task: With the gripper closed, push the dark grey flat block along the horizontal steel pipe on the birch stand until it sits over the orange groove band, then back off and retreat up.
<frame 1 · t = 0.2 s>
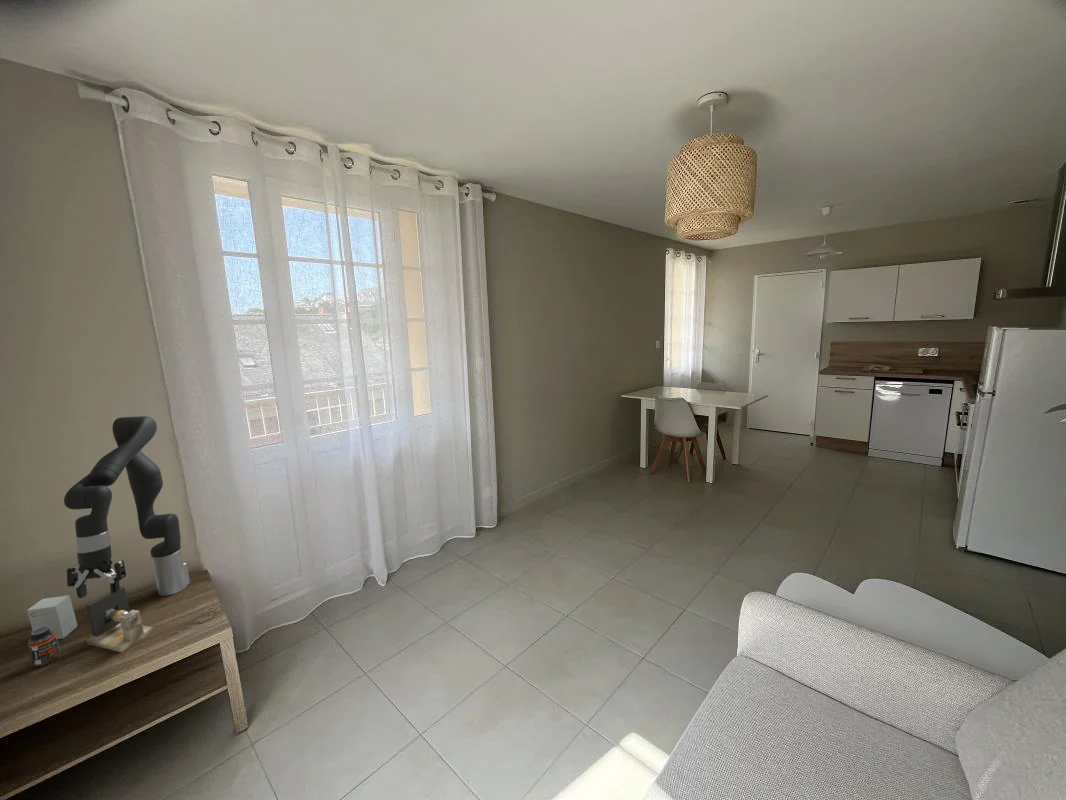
hand: (98, 594, 134), 23 cm above the table, tool pointing down, fingers open, 8 cm apart
small box: (57, 634, 147), on the table
dark grey flat block: (109, 611, 145), point 10 cm above the table, slide at 0.0 cm
pipe stand: (121, 637, 146), on the table
supplement bottle: (47, 660, 136), on the table
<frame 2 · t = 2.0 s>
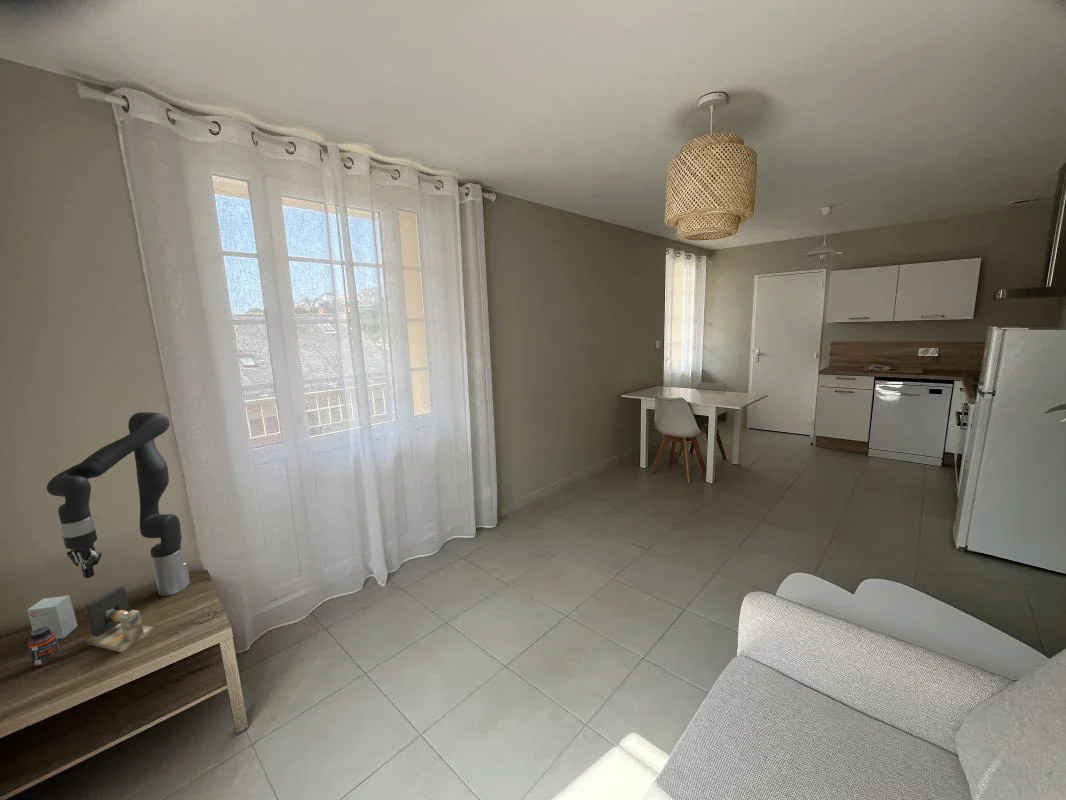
hand: (89, 576, 143), 23 cm above the table, tool pointing down, fingers closed
nothing on the table moved.
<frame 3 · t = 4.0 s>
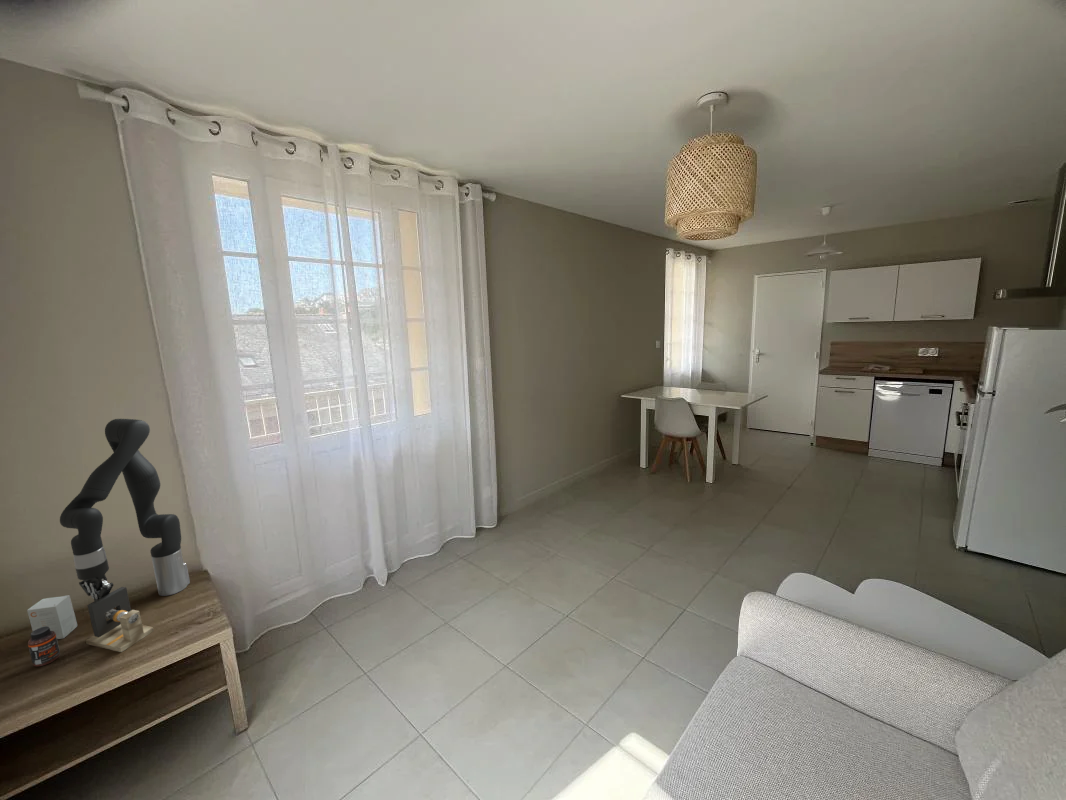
hand: (101, 606, 145), 12 cm above the table, tool pointing down, fingers closed
dark grey flat block: (110, 611, 144), point 10 cm above the table, slide at 0.9 cm, touching gripper, hand
everything else where it was.
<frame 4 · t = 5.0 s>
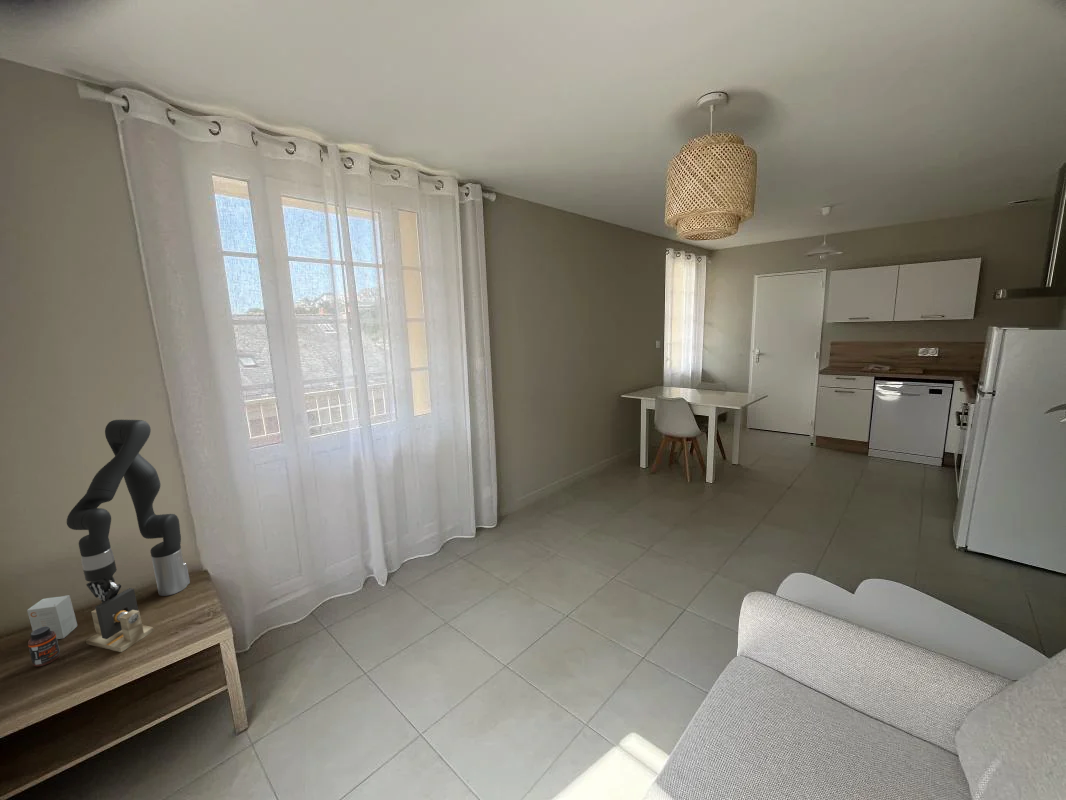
hand: (108, 607, 144), 12 cm above the table, tool pointing down, fingers closed
dark grey flat block: (118, 612, 144), point 10 cm above the table, slide at 4.4 cm, touching gripper
everything else where it was.
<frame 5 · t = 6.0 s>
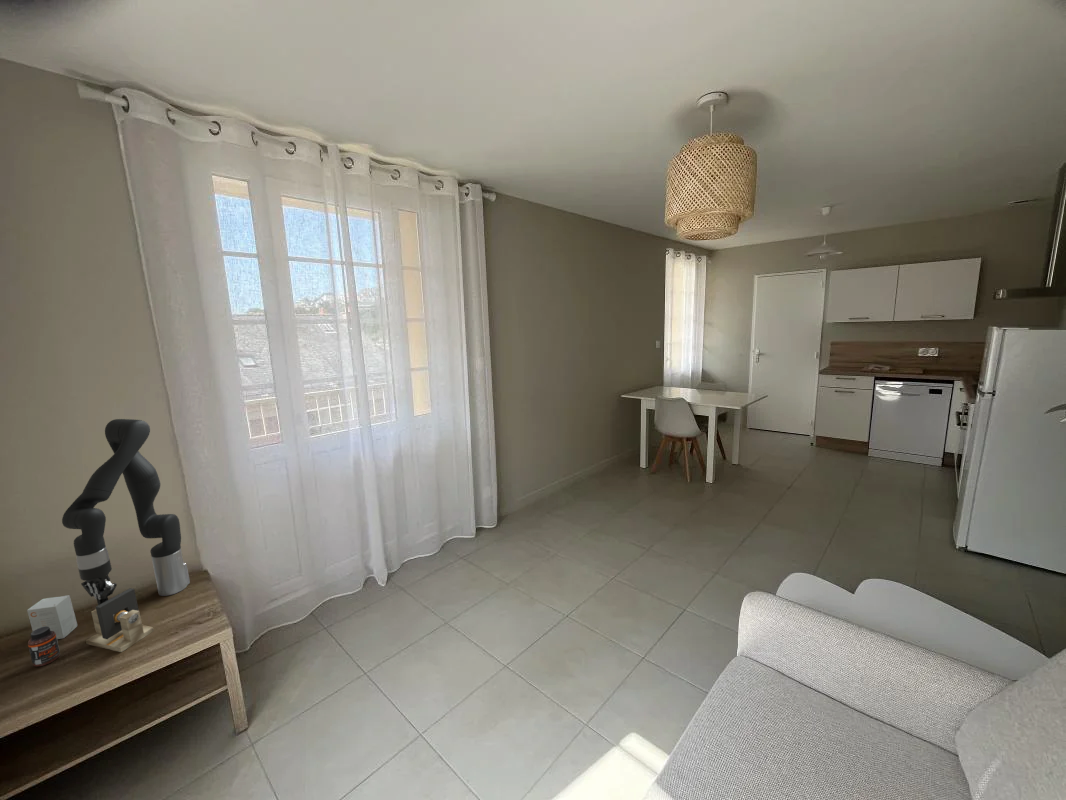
hand: (104, 606, 145), 11 cm above the table, tool pointing down, fingers closed
dark grey flat block: (118, 613, 144), point 10 cm above the table, slide at 4.6 cm
everything else where it was.
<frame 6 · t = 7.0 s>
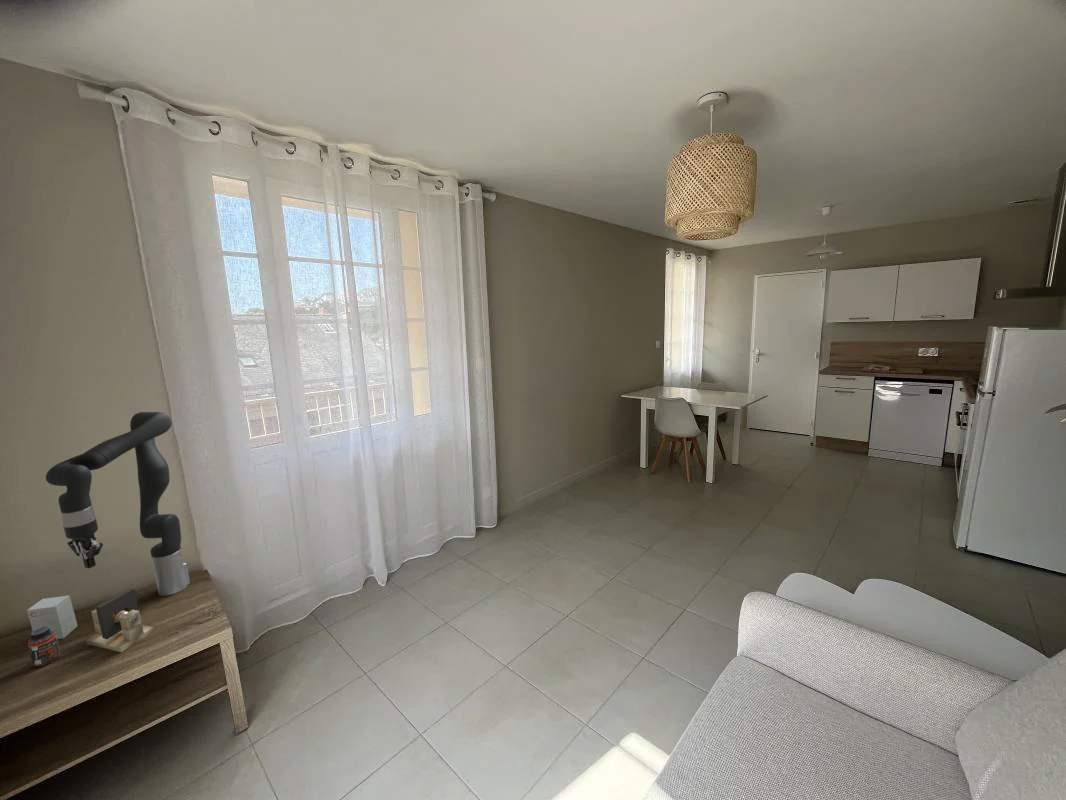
hand: (90, 566, 142), 27 cm above the table, tool pointing down, fingers closed
nothing on the table moved.
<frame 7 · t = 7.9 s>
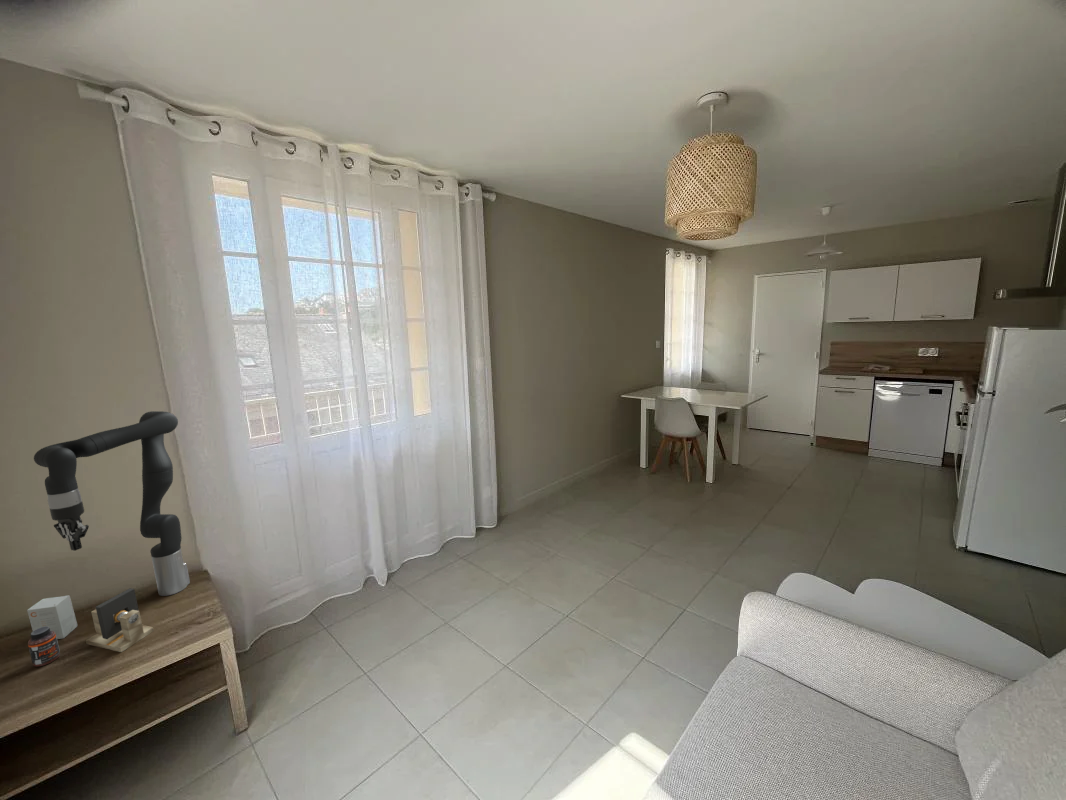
hand: (76, 549, 144), 32 cm above the table, tool pointing down, fingers closed
nothing on the table moved.
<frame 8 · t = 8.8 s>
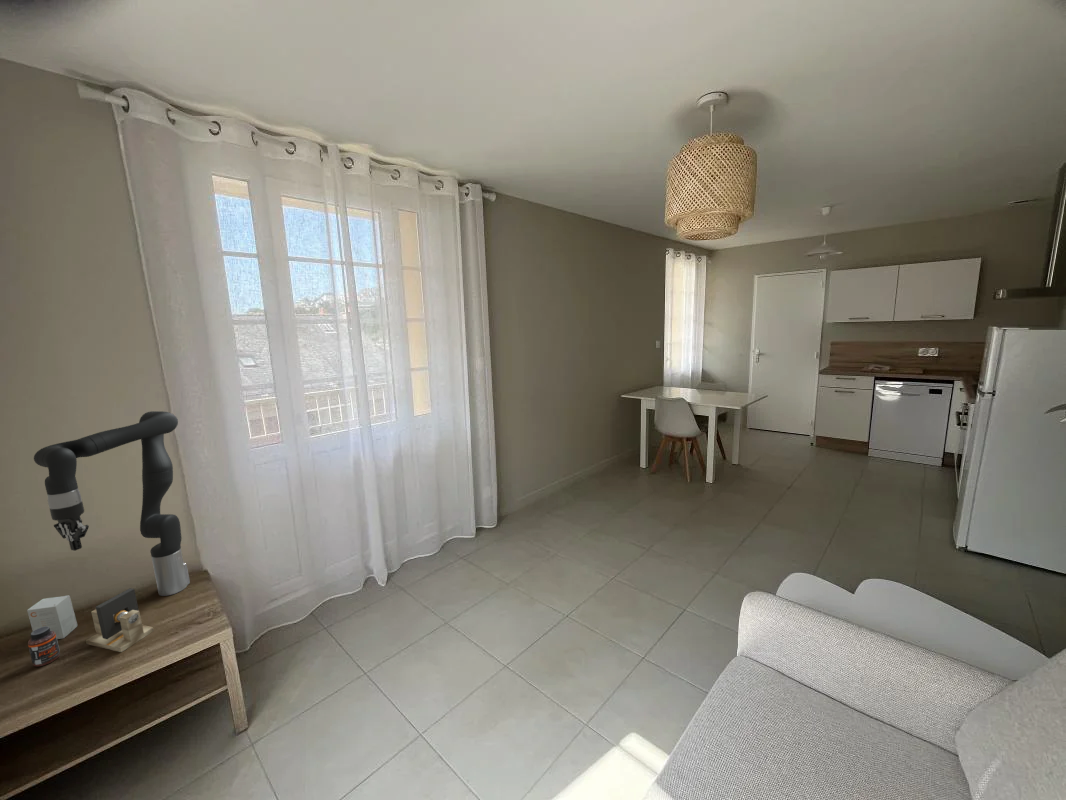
hand: (76, 549, 144), 32 cm above the table, tool pointing down, fingers closed
nothing on the table moved.
at the end: dark grey flat block slide at 4.6 cm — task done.
